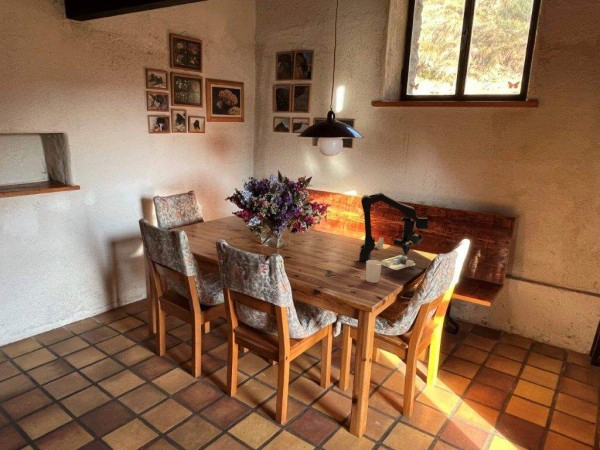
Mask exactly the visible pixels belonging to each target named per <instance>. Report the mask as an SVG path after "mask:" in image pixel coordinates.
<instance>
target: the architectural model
mask: <svg viewBox="0 0 600 450" xmlns="http://www.w3.org/2000/svg"><path fill="white" fill-rule="evenodd" d="M375 246H376V250H378V251H379V250H381V249H383V247H384V237H379V238H378V241H376V242H375Z"/></svg>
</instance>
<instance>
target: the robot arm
mask: <svg viewBox="0 0 600 450" xmlns="http://www.w3.org/2000/svg"><path fill="white" fill-rule="evenodd" d="M360 201H361V207H362V211H363V217H364V219H363V220H364V232H365V233H364V234H365V235H364V243H363V244H362V245H361V246H360V249H359V250H360V252H359V256H358V261H359V262H360V263H362V264H363V263H364V264H366V261H368V260H372V259H371V258H372V257H371V256H372V254H371V253H372V252H373V251H374V249H375V247H376V238H375V236H373V234H372V220H371V219H372V218H371V211H372V205H373V204H374V205H375V204H377V203H379V202H383V203H385V204H386V205H388V206H390V207H392V208H394V209H396V210H397V211H399V212H400V213H402V214H403V215H404V216H403V217H401V218H400V221H401V222H403V228H402V229H401V233H402V236H400V238H396V239H393V242H392V244H393V245H395V246H398V247H401V248H402V251H403V253H404V254H403V255H404V256H407V255H408V254H409V252H410V249H411V247H412V246H414V245H421V242H422V241H424V235H423V234H416V231H415V230H414V229H415V228H416V230H422V231H423V230H425V231H427V230H428V228H429V221H428V220H429V219H428V217H418V215H417V212H416V210H415V208H414V207H413V206H411V205H408V204H405V203H401V202H399V201H397V200H395V199H394V198H392V197H391V196H388V195H386V194H385V193H383V192H378V193H375V194H370V195H368V194H365V195H362V197H361V199H360Z"/></svg>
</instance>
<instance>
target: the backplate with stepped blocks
mask: <svg viewBox="0 0 600 450" xmlns="http://www.w3.org/2000/svg"><path fill="white" fill-rule="evenodd" d="M398 257H400V258H403V259H406V260H408V256H406V255H402V254H399V255H397V256H396V255H395V256H394V257H393V256H392V257H390V258H386V259H382V260H381V261H380V262H382V265H381V266H383V267H386V268H388V269H389V268H390V269H392V270H395V271H400V270H401V269H406V268H408V267H410V266H407V265H406V264H404V263H401V262H400V258H398ZM415 265H416V263H415V262H413V266H415Z"/></svg>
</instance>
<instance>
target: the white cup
mask: <svg viewBox="0 0 600 450" xmlns="http://www.w3.org/2000/svg"><path fill="white" fill-rule="evenodd" d="M365 266H366V267H365V273H366V274H365V275H366V277H365V279H366V282H368V283H373V284H374V283H378V282H380V279H381V272H382V271H381V270H382V266H383V265H382V262H381V261H380V260H377V259H371V260H368V261H366V263H365Z"/></svg>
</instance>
